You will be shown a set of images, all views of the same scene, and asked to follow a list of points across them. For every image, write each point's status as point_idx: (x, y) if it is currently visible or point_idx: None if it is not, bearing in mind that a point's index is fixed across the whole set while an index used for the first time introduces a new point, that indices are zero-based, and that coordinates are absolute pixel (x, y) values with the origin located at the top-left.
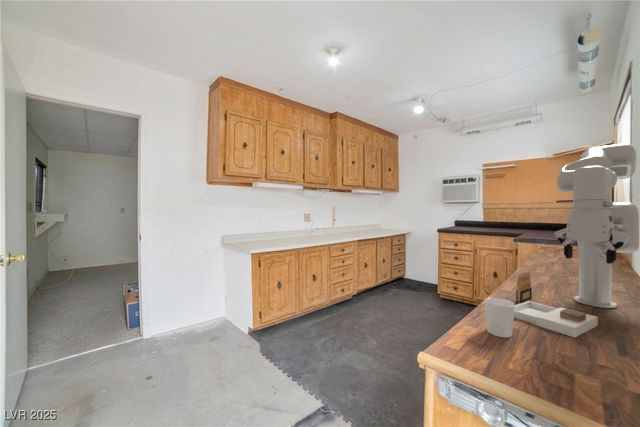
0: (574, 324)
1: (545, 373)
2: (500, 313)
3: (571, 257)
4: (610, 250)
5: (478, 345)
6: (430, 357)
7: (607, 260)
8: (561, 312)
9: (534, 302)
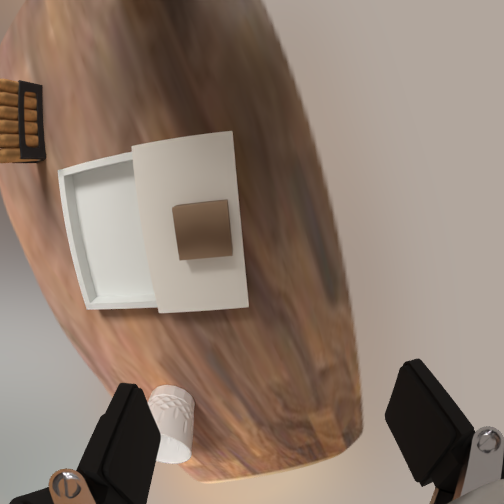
0: (235, 282)
1: (287, 439)
2: (184, 449)
3: (145, 400)
4: (438, 472)
5: (200, 446)
6: (207, 483)
7: (395, 430)
8: (183, 259)
9: (71, 166)
